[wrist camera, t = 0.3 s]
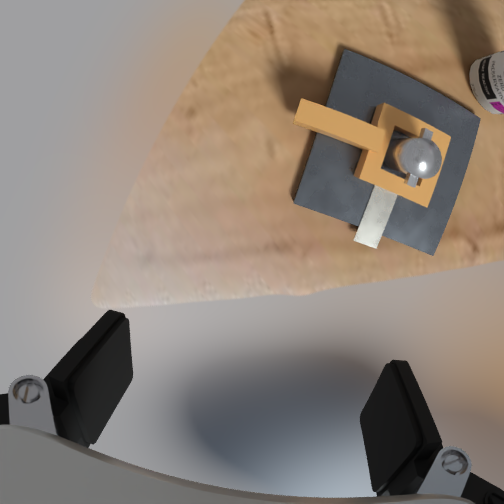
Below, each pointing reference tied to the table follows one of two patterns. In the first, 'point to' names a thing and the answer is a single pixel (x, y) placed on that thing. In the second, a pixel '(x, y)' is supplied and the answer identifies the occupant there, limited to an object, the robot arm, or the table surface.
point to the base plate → (344, 157)
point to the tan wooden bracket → (374, 143)
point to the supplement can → (489, 82)
